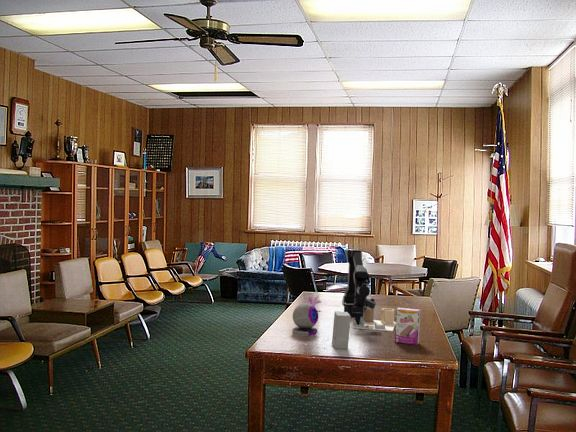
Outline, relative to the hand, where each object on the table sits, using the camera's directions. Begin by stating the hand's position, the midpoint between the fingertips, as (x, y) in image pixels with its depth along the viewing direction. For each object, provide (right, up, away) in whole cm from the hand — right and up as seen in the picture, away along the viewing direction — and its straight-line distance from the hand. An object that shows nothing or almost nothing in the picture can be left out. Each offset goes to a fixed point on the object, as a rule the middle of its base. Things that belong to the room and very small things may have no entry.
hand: (359, 323), depth 315 cm
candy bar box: (+19, -4, -30) cm, 36 cm away
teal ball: (0, +2, 0) cm, 2 cm away
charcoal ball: (+6, +4, +13) cm, 15 cm away
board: (+9, -2, +6) cm, 11 cm away
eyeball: (-30, -2, -15) cm, 33 cm away
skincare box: (-14, -4, -41) cm, 44 cm away
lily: (-24, 0, +42) cm, 49 cm away
